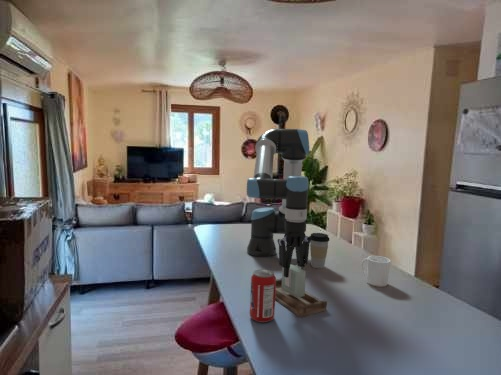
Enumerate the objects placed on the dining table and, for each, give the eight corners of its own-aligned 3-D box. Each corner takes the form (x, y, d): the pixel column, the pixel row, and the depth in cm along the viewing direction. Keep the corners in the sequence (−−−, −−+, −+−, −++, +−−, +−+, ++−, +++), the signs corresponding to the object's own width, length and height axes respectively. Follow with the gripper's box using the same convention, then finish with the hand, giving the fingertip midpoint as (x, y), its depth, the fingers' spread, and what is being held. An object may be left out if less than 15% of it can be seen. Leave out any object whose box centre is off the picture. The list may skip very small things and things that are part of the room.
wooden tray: (261, 289, 131) (261, 282, 131) (284, 285, 137) (285, 277, 137) (300, 317, 111) (300, 308, 110) (326, 310, 116) (326, 301, 116)
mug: (387, 281, 145) (389, 257, 144) (389, 289, 137) (391, 263, 135) (360, 277, 149) (362, 254, 147) (360, 284, 140) (361, 260, 139)
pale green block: (281, 288, 126) (282, 264, 125) (289, 287, 128) (290, 263, 127) (296, 297, 118) (297, 272, 117) (304, 295, 120) (305, 270, 119)
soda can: (266, 326, 104) (268, 279, 102) (244, 319, 108) (246, 273, 106) (278, 316, 111) (280, 271, 109) (257, 310, 115) (259, 266, 113)
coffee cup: (328, 270, 155) (330, 238, 154) (307, 268, 157) (308, 236, 156) (327, 263, 165) (329, 233, 163) (307, 262, 166) (309, 231, 165)
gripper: (282, 224, 113) (279, 292, 116) (320, 220, 122) (317, 284, 124) (270, 219, 120) (267, 284, 122) (307, 216, 128) (304, 277, 130)
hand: (292, 284), depth 123 cm, fingers closed on pale green block, 4 cm apart
